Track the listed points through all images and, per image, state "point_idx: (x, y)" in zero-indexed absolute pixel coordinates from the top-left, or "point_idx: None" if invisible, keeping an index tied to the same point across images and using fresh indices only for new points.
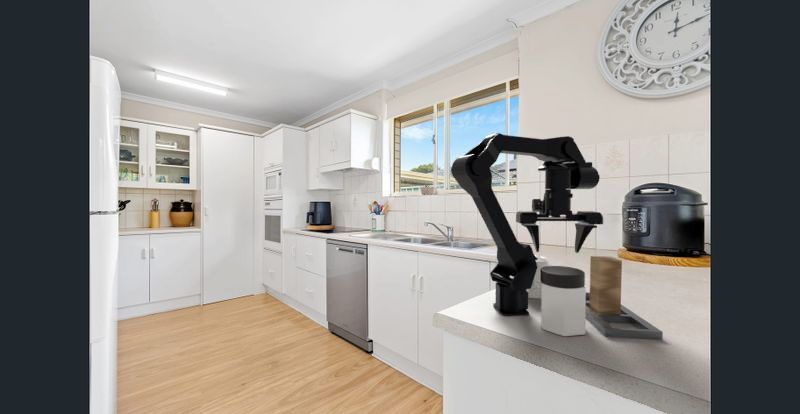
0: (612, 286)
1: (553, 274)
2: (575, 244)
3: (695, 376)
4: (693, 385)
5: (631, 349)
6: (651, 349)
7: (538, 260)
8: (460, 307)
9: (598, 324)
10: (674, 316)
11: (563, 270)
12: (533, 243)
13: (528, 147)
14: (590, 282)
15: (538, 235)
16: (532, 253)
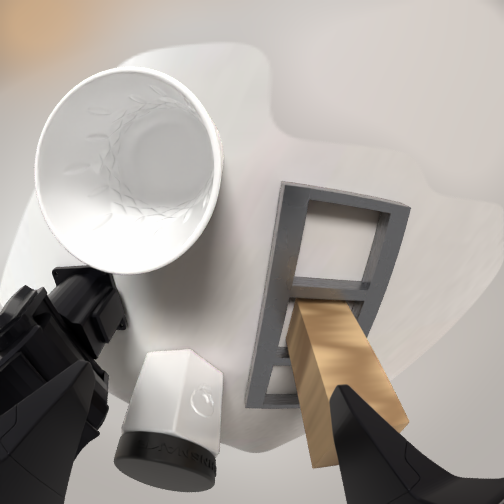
0: None
1: (139, 480)
2: (352, 425)
3: (284, 443)
4: (268, 450)
5: (259, 418)
6: (287, 416)
7: (186, 100)
8: (8, 275)
9: (248, 391)
10: (439, 310)
11: (166, 479)
12: (44, 387)
13: None
14: (313, 357)
15: (65, 483)
16: (77, 451)
